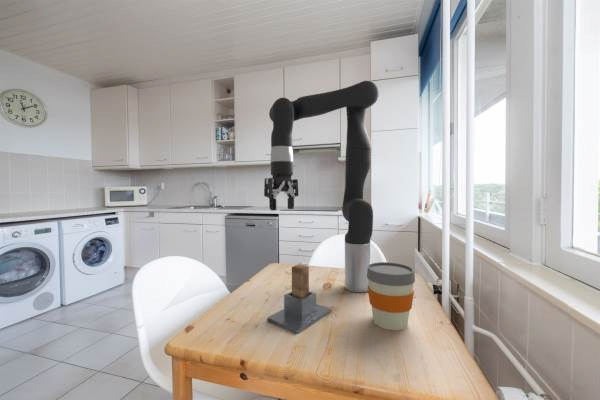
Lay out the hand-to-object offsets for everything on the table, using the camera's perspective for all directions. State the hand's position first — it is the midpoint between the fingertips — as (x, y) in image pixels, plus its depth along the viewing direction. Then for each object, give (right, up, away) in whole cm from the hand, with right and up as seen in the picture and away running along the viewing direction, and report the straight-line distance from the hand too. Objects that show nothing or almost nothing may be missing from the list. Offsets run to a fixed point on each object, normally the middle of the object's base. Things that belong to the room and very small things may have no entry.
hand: (282, 209), depth 90 cm
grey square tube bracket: (+6, -30, -12) cm, 33 cm away
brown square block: (+6, -28, -12) cm, 31 cm away
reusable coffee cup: (+31, -31, -16) cm, 46 cm away
